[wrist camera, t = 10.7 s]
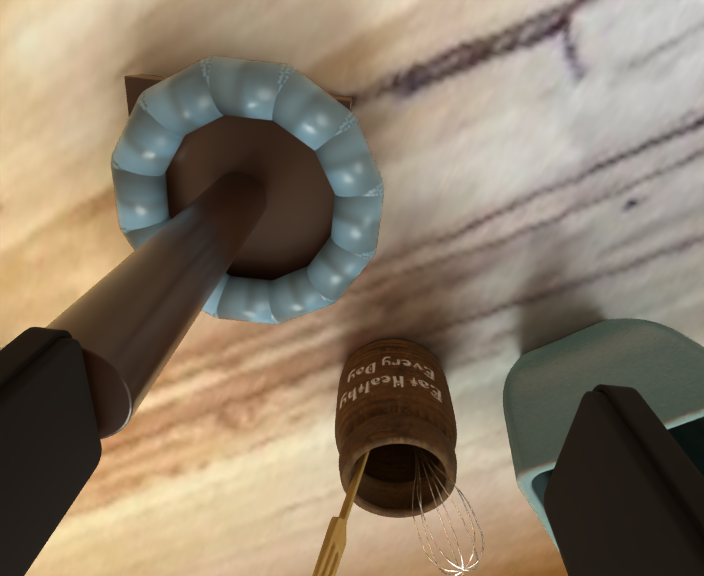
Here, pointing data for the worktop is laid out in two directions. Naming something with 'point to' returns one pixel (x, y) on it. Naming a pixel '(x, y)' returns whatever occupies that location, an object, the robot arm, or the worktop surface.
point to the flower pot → (586, 373)
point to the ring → (298, 119)
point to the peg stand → (199, 249)
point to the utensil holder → (393, 442)
